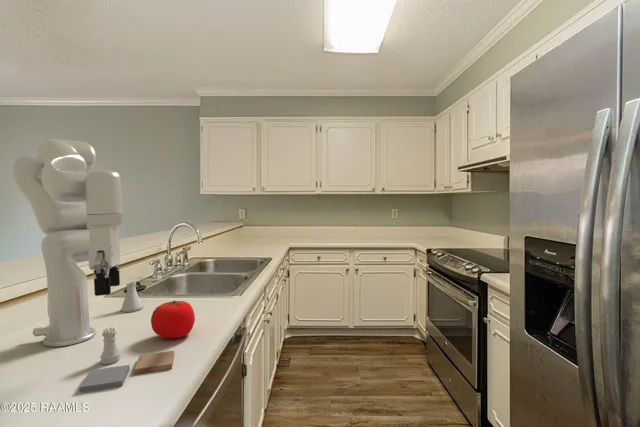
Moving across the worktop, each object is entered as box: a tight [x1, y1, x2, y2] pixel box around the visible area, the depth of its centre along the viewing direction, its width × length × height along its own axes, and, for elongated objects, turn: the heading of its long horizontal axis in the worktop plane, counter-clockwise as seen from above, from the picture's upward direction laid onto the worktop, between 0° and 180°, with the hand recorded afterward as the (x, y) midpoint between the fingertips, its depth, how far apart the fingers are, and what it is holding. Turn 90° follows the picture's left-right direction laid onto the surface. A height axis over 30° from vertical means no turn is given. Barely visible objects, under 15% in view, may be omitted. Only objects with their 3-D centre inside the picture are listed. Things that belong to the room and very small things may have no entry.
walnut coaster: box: [133, 350, 175, 375], centre depth 87 cm, size 8×8×1 cm
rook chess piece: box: [99, 327, 121, 365], centre depth 89 cm, size 4×4×8 cm
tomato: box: [150, 300, 196, 339], centre depth 105 cm, size 12×12×10 cm
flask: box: [120, 281, 144, 313], centre depth 132 cm, size 7×7×10 cm
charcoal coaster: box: [78, 364, 131, 394], centre depth 80 cm, size 8×8×1 cm
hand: (108, 290), depth 89 cm, fingers open, 9 cm apart
